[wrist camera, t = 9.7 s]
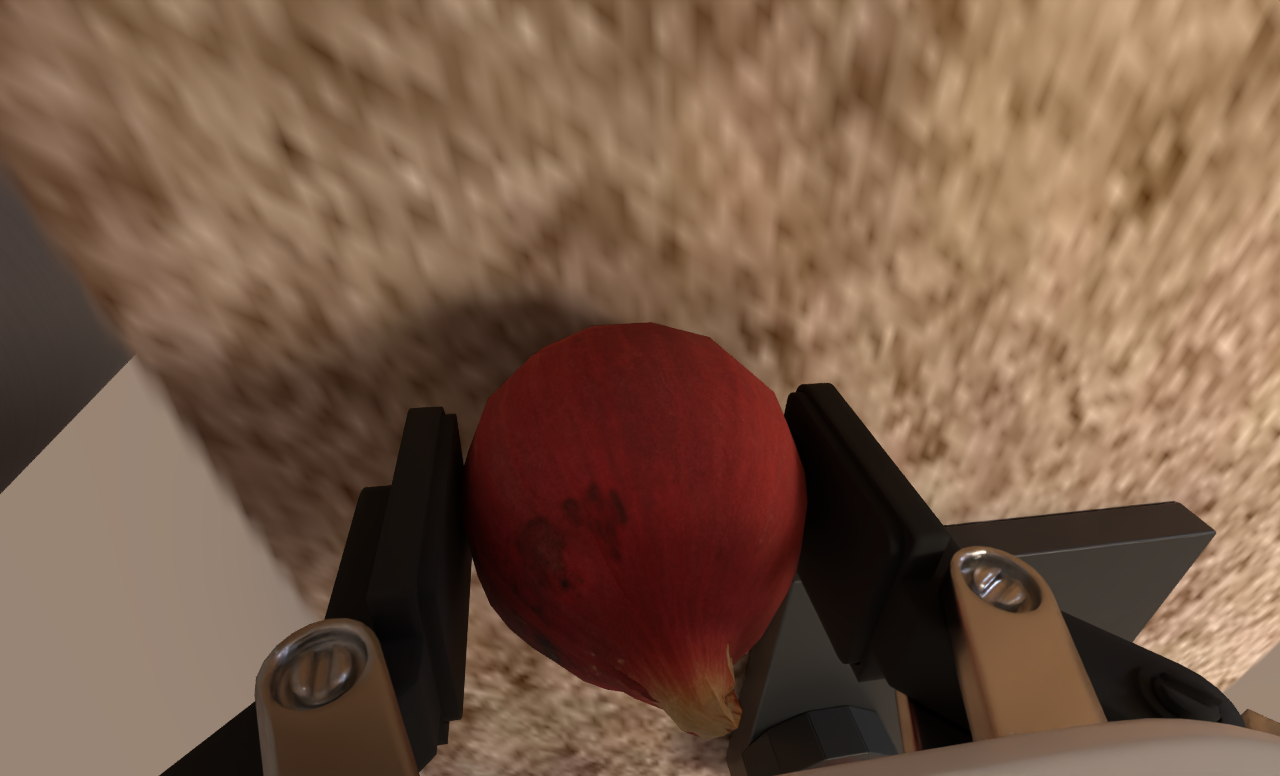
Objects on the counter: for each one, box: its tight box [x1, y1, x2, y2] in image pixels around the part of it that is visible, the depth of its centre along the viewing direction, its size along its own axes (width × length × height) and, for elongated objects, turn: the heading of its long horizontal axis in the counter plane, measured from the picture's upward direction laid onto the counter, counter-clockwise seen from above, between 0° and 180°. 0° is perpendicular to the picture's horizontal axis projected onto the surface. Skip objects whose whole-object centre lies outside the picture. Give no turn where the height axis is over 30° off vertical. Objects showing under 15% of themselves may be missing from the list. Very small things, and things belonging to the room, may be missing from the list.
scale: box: [726, 502, 1216, 776], centre depth 21 cm, size 14×12×3 cm
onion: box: [459, 322, 808, 739], centre depth 11 cm, size 6×6×8 cm
